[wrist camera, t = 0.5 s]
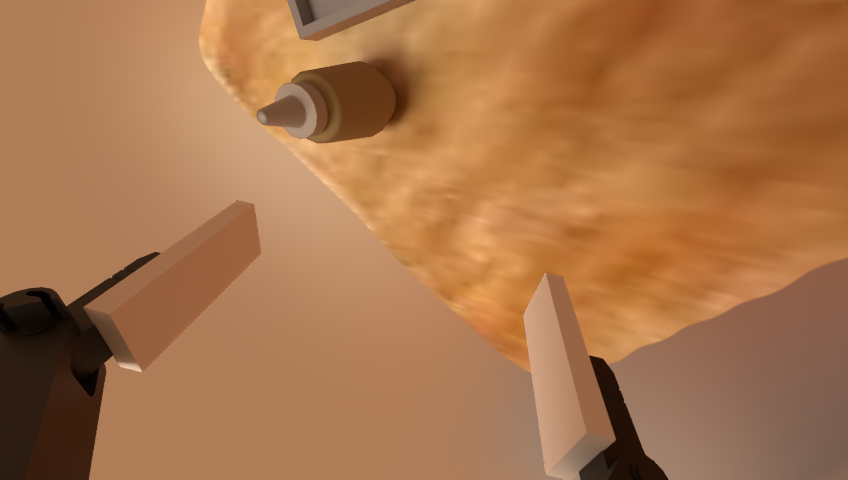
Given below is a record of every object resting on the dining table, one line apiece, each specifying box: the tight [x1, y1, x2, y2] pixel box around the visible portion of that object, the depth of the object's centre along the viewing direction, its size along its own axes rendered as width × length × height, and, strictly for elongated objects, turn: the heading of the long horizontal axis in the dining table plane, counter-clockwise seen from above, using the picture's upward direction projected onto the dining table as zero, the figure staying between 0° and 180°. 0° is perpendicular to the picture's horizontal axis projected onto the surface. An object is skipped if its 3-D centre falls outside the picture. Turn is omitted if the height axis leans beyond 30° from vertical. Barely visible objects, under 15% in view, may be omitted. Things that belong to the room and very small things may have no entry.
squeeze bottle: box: [257, 61, 396, 143], centre depth 33 cm, size 8×8×18 cm
